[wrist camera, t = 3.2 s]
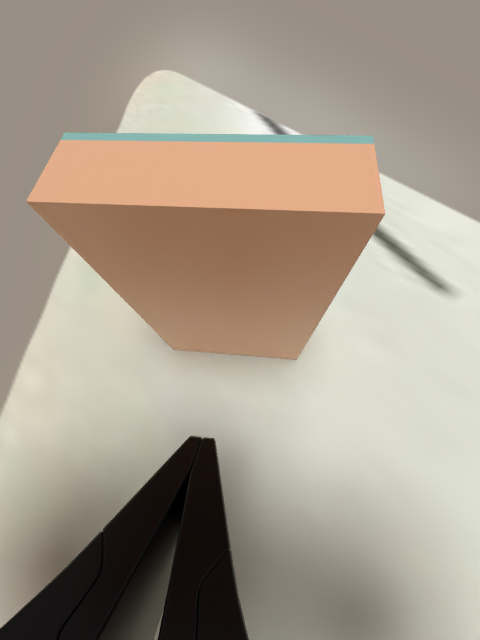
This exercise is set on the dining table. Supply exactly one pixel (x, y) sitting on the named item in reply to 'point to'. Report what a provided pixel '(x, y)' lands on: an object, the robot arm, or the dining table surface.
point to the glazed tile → (217, 229)
